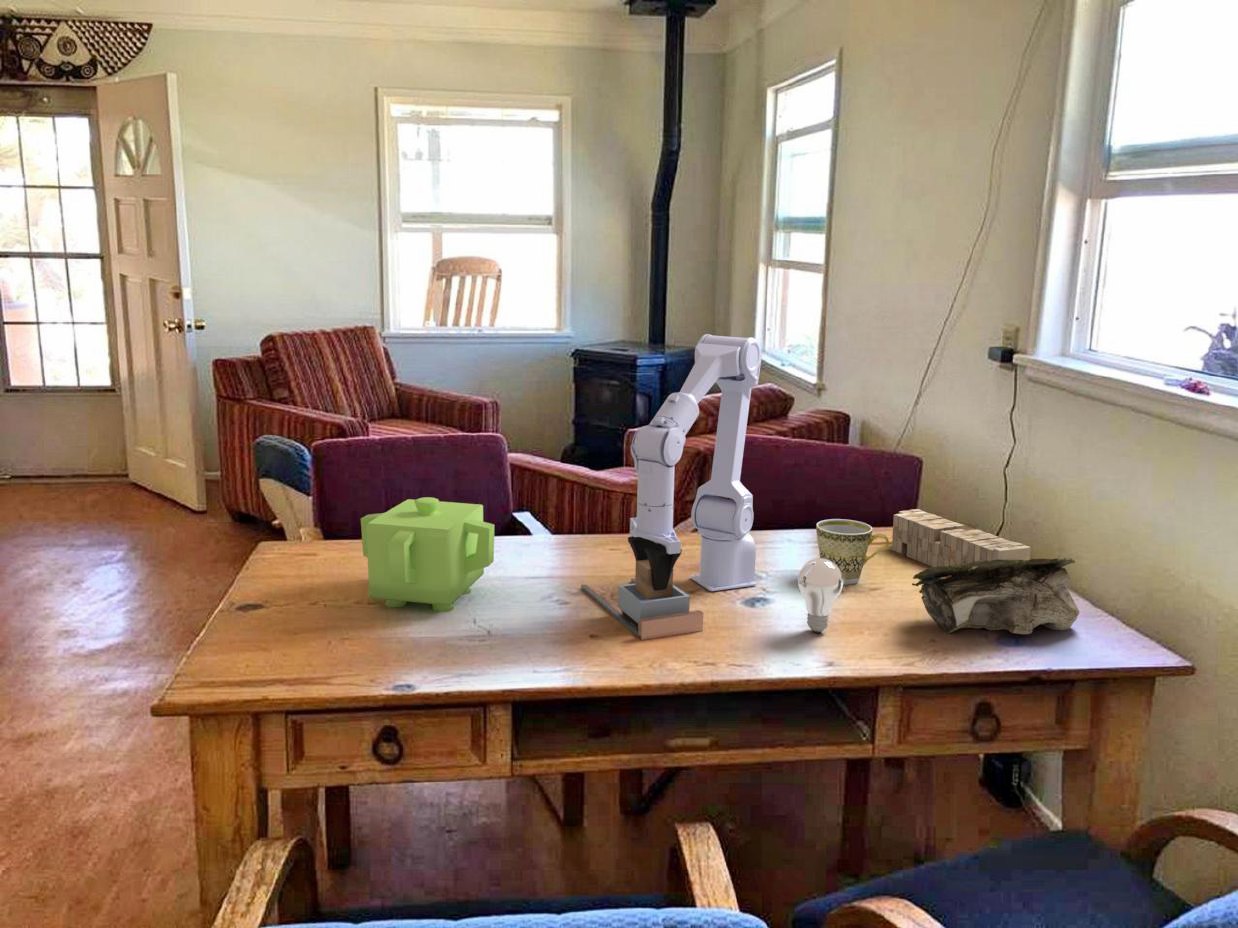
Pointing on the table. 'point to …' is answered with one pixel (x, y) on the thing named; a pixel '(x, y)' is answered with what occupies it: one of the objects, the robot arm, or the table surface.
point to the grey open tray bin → (650, 603)
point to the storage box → (426, 551)
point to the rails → (654, 620)
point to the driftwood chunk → (1000, 595)
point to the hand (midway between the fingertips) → (653, 584)
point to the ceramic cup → (846, 545)
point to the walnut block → (649, 582)
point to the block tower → (949, 541)
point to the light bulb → (819, 590)
